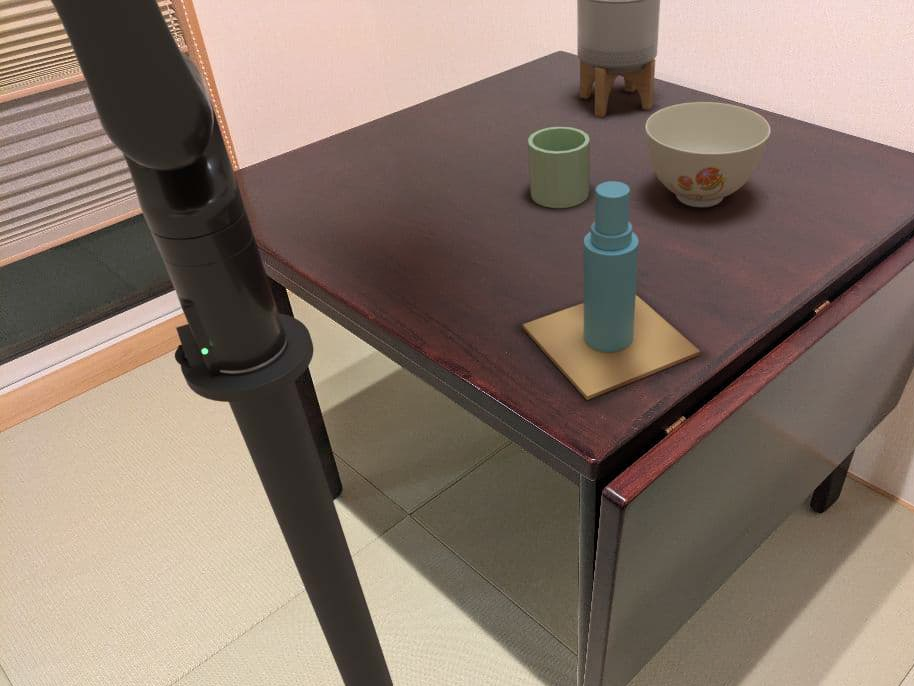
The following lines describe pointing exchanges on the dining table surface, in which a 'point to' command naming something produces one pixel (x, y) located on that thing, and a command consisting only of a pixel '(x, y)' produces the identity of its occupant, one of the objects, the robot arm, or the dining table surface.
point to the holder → (559, 166)
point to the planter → (617, 47)
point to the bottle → (610, 271)
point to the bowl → (705, 149)
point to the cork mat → (609, 370)
